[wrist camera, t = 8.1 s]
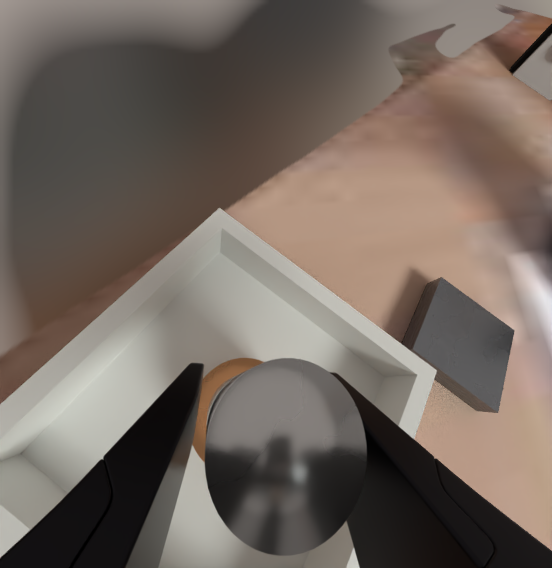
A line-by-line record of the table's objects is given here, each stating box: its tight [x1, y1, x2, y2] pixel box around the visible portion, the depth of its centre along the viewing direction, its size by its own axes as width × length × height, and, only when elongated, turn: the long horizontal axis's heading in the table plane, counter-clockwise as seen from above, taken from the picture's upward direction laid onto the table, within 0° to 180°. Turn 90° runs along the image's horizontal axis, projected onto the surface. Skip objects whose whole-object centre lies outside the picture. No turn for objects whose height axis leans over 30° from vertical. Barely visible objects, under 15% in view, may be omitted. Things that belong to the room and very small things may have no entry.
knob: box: [192, 358, 367, 556], centre depth 9 cm, size 5×5×10 cm
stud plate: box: [402, 277, 514, 413], centre depth 20 cm, size 7×7×2 cm
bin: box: [0, 208, 437, 568], centre depth 13 cm, size 16×16×4 cm
